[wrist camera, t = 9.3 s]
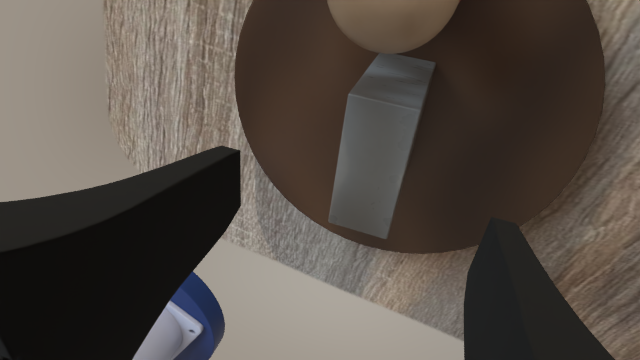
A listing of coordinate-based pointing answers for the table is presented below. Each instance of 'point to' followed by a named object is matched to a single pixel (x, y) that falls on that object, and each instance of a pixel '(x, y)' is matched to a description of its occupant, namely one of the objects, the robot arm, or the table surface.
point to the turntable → (419, 111)
